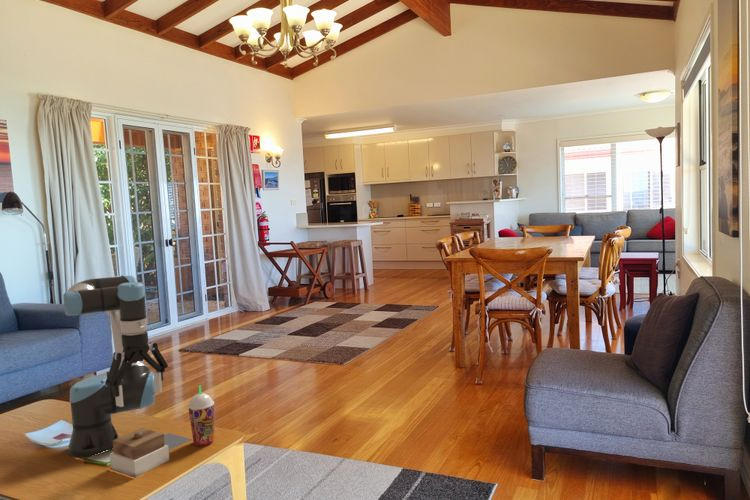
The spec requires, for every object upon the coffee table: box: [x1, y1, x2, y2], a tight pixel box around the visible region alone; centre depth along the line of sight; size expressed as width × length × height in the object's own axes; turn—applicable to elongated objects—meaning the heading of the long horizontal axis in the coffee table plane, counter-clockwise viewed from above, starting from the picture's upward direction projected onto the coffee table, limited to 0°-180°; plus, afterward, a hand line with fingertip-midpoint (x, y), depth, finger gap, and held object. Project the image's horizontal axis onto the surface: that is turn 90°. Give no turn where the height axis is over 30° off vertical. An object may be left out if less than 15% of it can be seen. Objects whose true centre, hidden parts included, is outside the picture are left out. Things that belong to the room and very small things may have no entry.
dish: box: [109, 445, 170, 479], centre depth 174 cm, size 12×12×5 cm
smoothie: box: [187, 385, 215, 447], centre depth 187 cm, size 8×8×20 cm
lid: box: [112, 427, 165, 460], centre depth 173 cm, size 10×10×5 cm
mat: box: [164, 432, 193, 451], centre depth 189 cm, size 12×12×1 cm
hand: (139, 398), depth 175 cm, fingers open, 13 cm apart
